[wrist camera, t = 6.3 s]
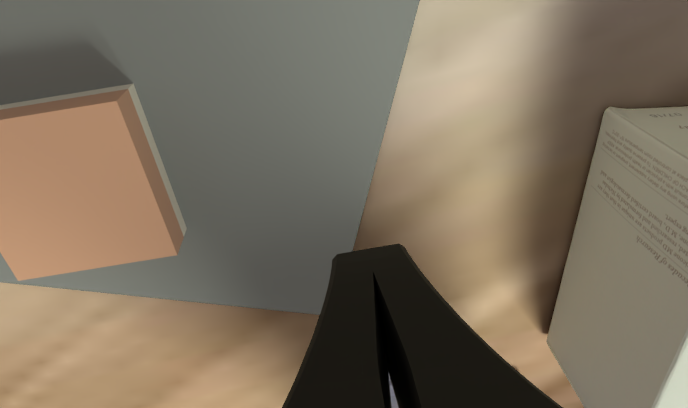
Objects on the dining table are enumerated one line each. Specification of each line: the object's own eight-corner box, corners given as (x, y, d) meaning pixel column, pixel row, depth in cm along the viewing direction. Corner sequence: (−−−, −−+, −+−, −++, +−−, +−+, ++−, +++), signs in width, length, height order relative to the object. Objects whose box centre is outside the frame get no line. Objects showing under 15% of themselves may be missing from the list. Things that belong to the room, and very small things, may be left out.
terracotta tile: (116, 100, 15) (-75, 132, 15) (177, 255, 18) (17, 281, 18) (133, 83, 17) (-41, 111, 17) (186, 228, 20) (39, 252, 20)
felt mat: (334, 310, 23) (334, 316, 23) (-17, 273, 21) (-22, 279, 20) (417, -3, 16) (420, -2, 16) (-90, -116, 14) (-100, -116, 14)
